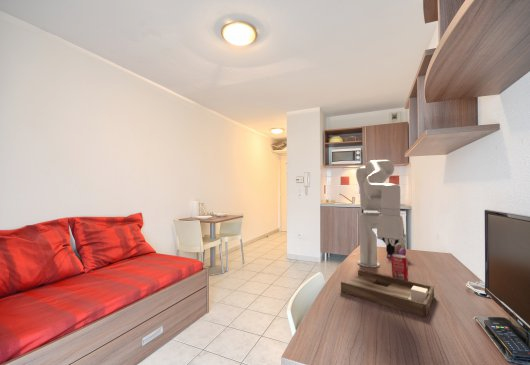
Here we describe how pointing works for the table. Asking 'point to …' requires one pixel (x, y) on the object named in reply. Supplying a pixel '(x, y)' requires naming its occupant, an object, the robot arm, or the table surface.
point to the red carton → (399, 266)
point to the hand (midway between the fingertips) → (390, 253)
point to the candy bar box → (399, 248)
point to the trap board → (388, 292)
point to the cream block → (418, 293)
